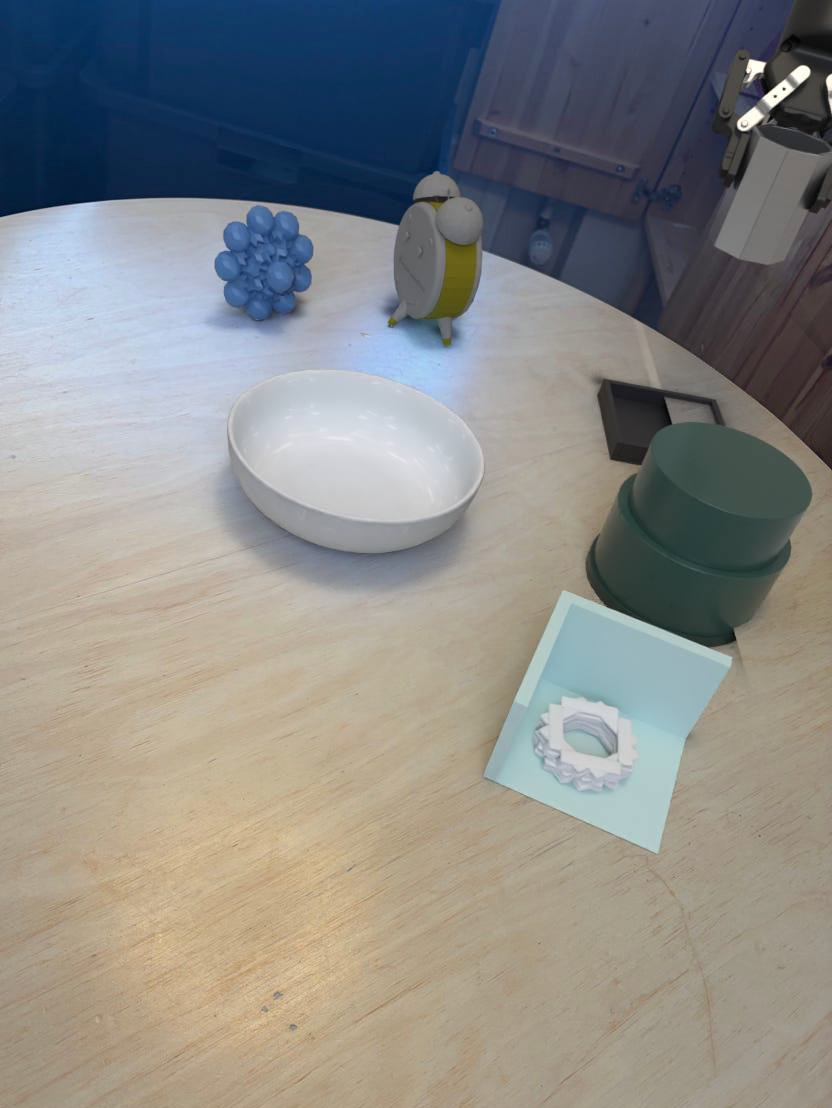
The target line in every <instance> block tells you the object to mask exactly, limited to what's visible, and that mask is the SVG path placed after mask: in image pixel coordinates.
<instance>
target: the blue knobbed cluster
mask: <svg viewBox="0 0 832 1108" xmlns="http://www.w3.org/2000/svg"><path fill="white" fill-rule="evenodd" d="M222 231H223V232H222V240H223V241H224V245H225V247H226V249H228V250H223V251H220V252H219V253H218V254H217V256H216V257H215V258H214V262H213V267H214V270H215V273H216V276H217V277H218V278H219V279H220V280H222V281H224V282H226V283H225V284H224V286H223V298H224V299H225V302H226V303H227V305H229V307H231V308H235V309H241V308H245V310H246V313H247V315H248V316H249V317H250V318H251V317H252V318H251V319H253V320H255V319H258V320H257V321H264V320H266V318H267V319H268V318H269V317H270V315H271V314H272V312H273V311H274V312H275V313H277V314H281V315H286V314H289V313H291V312H292V311H293V310H294V309H295V307H296V299H297V298H296V295H295V293H303V292H307V291H308V290H309V289H310V287H311V285H312V278H313V274H312V272H311V269H310V268H309V267H308V266H307V265H306V264H308V263H310V261H312V259H313V257H314V249H315V248H314V244H313V242H312V240H311V238H309V237H308V236H307V235H305V234H301V233H300V223H299V220H298V217H297V216H296V215H295V214H294V213H292V211H286V210H281V211H278V212H276V214H275V215H274V213H273V212H272V211H271V210H270V209H269V208H268V207H267V206H264V205H259V204H257V205H254V206H252V207H251V208H250V209H249V211H248V212H247V214H246V219H245V223H244V222H241V221H236V220H234V221H231V222H228V223H227V225H226V226H225V227H224V229H223V230H222ZM272 310H273V311H272ZM263 319H264V320H263Z"/></svg>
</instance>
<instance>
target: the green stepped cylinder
mask: <svg viewBox="0 0 832 1108" xmlns="http://www.w3.org/2000/svg"><path fill="white" fill-rule="evenodd" d="M810 483H811V482H810V481H809V478H808V477H807V475H806V474H805V473H804V471H803V470H802V468H800V466H799V465H797V463H796V462H795V461H793V460H792V459H791V458H790V457H789V456H788V455H787V454H785V453H784V452H782V451H781V450H779V449H778V448H776V447H775V446H773V445H771V444H770V443H768V442H767V441H764V440H762V439H761V438H758V437H756V436H755V435H753V434H752V435H751V434H750V433H747V432H745V431H741V430H739V429H736V428H732V427H729V426H726V425H725V426H722V425H717V424H716V423H710V422H702V421H683V422H677V423H672V425H669V426H666V427H665V428H663V429H661V430H660V431H659V432H657V433H656V435H655V436H654V437H653V439H652V442H651V444H650V446H649V449H648V451H647V453H646V455H645V458H644V460H643V462H642V464H641V465H640V466H639V469H638V472H635V473H633V474H632V475H630V476H629V477H628V478H627V479H625V480H624V481H623V483H622V484H621V485H620V487H619V488H618V492H617V494H616V496H615V499H614V501H613V504H612V506H611V508H610V510H609V513H608V514H607V518H606V519H605V522H604V524H603V526H602V529H601V531H600V533H599V534H598V535H597V536H596V537H595V538H594V540H593V541H592V543H591V545H590V547H589V549H588V553H587V554H586V559H585V571H586V574H587V575H586V576H587V578H588V581H589V583H590V585H591V587H592V589H593V590H594V593H595V594H596V595H597V596H598V598H599V599H600V600H601V602H603V603H604V604H605V605H606V607H607V608H610V609H612V610H615V611H617V612H620V613H622V614H625V615H627V616H630V617H632V618H635V619H637V620H640V621H642V622H645V623H647V624H650V625H652V626H655V627H657V628H660V629H662V630H665V631H667V632H670V633H672V634H675V635H677V636H680V637H682V638H685V639H687V640H690V641H692V642H695V643H697V644H700V645H702V646H705V647H707V648H712V647H713V648H715V647H721V646H725V645H729V644H732V643H735V642H736V641H738V639H737V636H736V633H735V629H736V628H738V627H741V626H743V625H745V624H747V623H748V622H750V620H751V619H753V618H754V616H756V614H757V613H758V611H759V609H760V607H761V606H762V605H763V603H764V601H765V600H766V599H767V596H768V594H769V593H770V592H771V590H772V588H773V587H774V585H775V583H776V582H777V580H778V578H779V577H780V575H781V574H782V573H783V571H784V569H785V567H786V566H787V564H788V562H789V560H790V558H791V554H792V542H791V541H792V540H791V539H790V538H791V537H792V534H793V533H794V532H795V530H796V529H797V526H798V525H799V523H800V521H801V520H802V518H803V517H804V515H805V513H806V512H807V510H808V508H809V507H810V505H811V502H812V501H813V500H812V499H813V489H812V486H811V484H810Z"/></svg>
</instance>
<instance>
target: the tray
mask: <svg viewBox="0 0 832 1108" xmlns="http://www.w3.org/2000/svg"><path fill="white" fill-rule="evenodd" d="M666 398H669V399H674V400H679V401H684V402H690V403H696V404H701V405H705V406H709V408H710V411H711V413H712V416H713V418H714V421H715V424H717V425H722V426H726V424H725V420H724V418H723V416H722V415H723V414H722V413H721V410H720V407H719V405H718V402H717V399H714V398H709V397H705V396H704V397H703V396H700V395H694V394H688V393H683V392H682V393H681V392H677V391H672V390H666V389H661V388H656V387H651V386H646V385H640V384H637V383H636V384H635V383H630V382H625V381H620V380H614V379H609V378H603V380H602V382H601V385H600V387H599V390H598V392H597V399H598V405H599V409H600V415H601V419H602V423H603V429H604V434H605V438H606V444H607V448H608V453H609V459H610V460H613V461H618V462H624V463H629V464H634V465H639V466H641V464H642V462H643V460H644V458H645V455H646V453H647V451H648V449H649V446H650V444H651V442H652V439H653V437H654V436H655V435H656V433H657V432H659V431H660V430H661V429H663V428H665V427H666V426H669V425H672V424H673V421H672V418H671V414H670V411H669V408H668V404H667V401H666Z"/></svg>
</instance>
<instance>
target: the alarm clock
mask: <svg viewBox="0 0 832 1108" xmlns="http://www.w3.org/2000/svg"><path fill="white" fill-rule="evenodd" d="M412 195H413V196H412V201H413V202H414V203H413V204H412V205H410V206H409V207H408V209H407V210H406V211H405V212H404V214H403V216H402V218H401V220H400V223H399V225H398V228H397V232H396V236H395V240H394V241H395V242H394V246H393V248H394V249H393V280H394V287H395V291H396V295H397V298H398V301H399V303H400V304H399V306H398V307H397V308H396V309H395V311H394V312H393V314H392V315H391V316H390V318H389V319H388V321H387V324H388V325H389V326H390V325H393V326H395V325H397V324H398V323H399V322H401V321H402V320H404V319H405V318H407V317H408V316H409V317H410V318H412V319H416V320H421V321H423V320H424V321H425V320H426V321H427V320H430V321H431V320H436V321H437V324H438V328H439V331H440V336H441V339H442V343H443V346H444V347H450V346H451V344H452V334H453V333H452V332H453V331H452V330H453V320H454V319H458V318H460V317H462V316H463V315H464V314H465V313H467V311H468V310H469V308H470V307H471V305H472V304H473V302H474V300H475V297H476V296H477V292H478V290H479V286H480V281H481V276H482V269H483V239H482V235H481V234H482V232H483V228H484V227H483V226H484V220H483V213H482V210H481V209H480V207H479V205H477V203H475V202H474V200H472V199H470V198H467V197H463V196H461V192H460V188H459V187H458V185H457V183H456V181H454V179H452V178H451V177H450V176H448V175H446V174H443V173H441V172H440V171H438V170H435V171H433V173H432V174H429V175H426V176H425V177H423V178H422V179H421V180H419V183H417V185H416V187H415V189H414V192H413V194H412Z"/></svg>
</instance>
